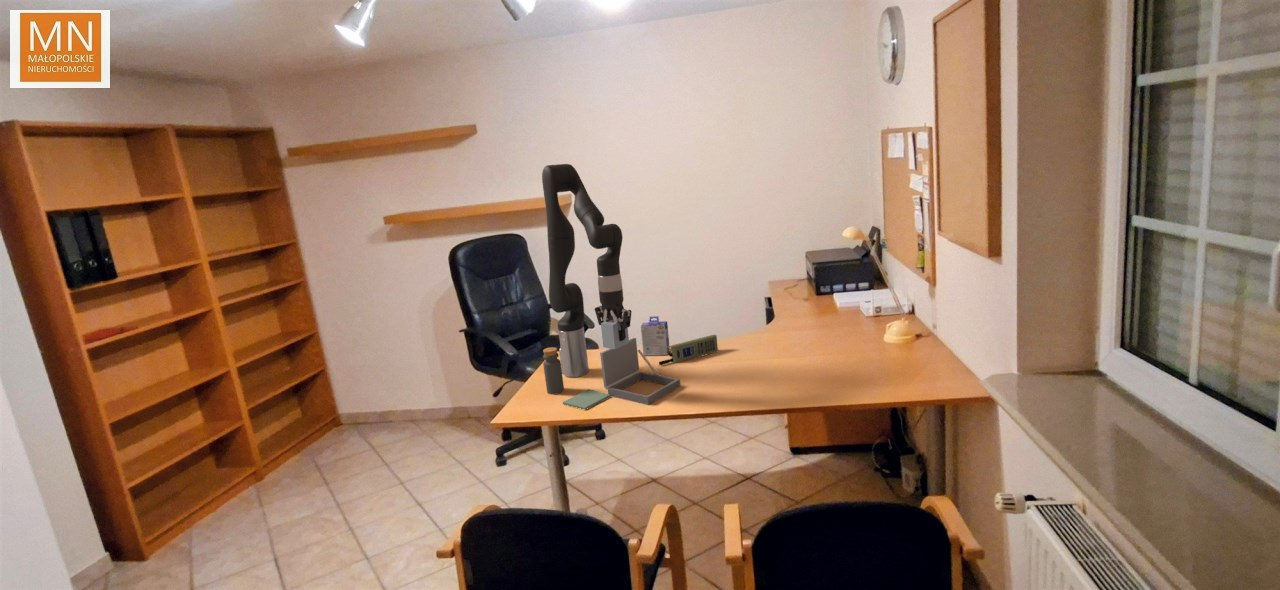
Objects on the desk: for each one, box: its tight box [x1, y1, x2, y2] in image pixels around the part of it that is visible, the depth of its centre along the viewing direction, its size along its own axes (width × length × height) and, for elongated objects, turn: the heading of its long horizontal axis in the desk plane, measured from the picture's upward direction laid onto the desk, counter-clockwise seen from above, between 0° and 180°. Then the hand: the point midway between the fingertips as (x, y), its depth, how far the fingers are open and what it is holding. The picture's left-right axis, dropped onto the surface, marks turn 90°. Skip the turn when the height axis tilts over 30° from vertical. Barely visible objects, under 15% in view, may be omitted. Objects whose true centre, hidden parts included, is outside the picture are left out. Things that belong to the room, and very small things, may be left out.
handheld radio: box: [658, 334, 719, 366], centre depth 235 cm, size 7×3×25 cm
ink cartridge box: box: [640, 315, 671, 357], centre depth 243 cm, size 10×6×14 cm, turn 79°
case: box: [599, 337, 681, 406], centre depth 207 cm, size 18×18×14 cm
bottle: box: [542, 347, 565, 395], centre depth 214 cm, size 6×6×15 cm
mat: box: [562, 388, 612, 410], centre depth 205 cm, size 10×12×1 cm
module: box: [600, 318, 630, 349], centre depth 202 cm, size 5×7×8 cm
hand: (615, 339), depth 203 cm, fingers closed on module, 5 cm apart
